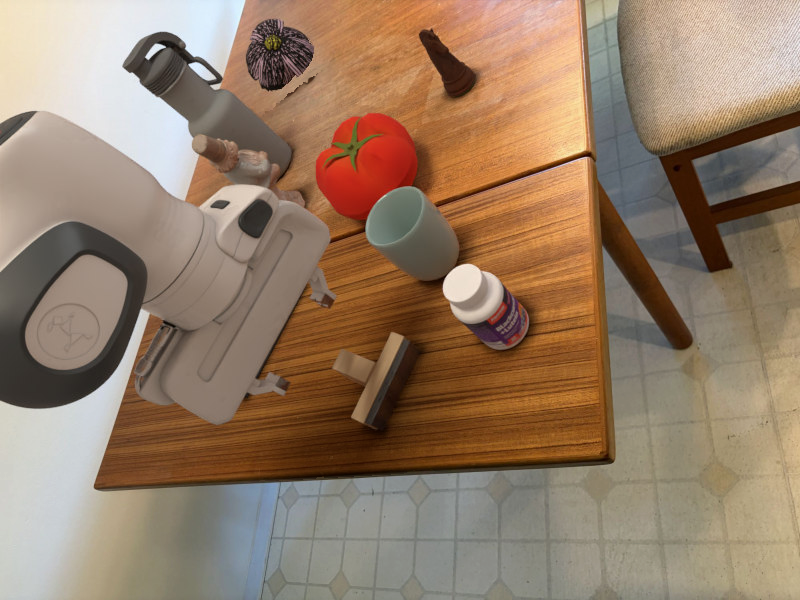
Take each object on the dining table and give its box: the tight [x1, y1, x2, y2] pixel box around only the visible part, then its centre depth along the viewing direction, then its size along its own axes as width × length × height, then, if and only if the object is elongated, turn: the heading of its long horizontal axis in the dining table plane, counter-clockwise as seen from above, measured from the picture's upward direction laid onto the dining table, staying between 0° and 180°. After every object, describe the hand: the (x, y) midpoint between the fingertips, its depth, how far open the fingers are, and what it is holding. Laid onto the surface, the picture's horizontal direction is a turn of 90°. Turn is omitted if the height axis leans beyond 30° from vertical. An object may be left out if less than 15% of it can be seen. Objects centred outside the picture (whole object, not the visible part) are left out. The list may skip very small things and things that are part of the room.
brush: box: [331, 331, 421, 432], centre depth 61 cm, size 10×5×7 cm
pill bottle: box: [442, 263, 530, 351], centre depth 54 cm, size 5×5×10 cm
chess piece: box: [418, 27, 476, 98], centre depth 77 cm, size 5×5×10 cm
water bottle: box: [121, 31, 292, 181], centre depth 91 cm, size 10×10×28 cm
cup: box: [365, 186, 460, 282], centre depth 63 cm, size 8×8×10 cm
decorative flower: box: [245, 18, 315, 92], centre depth 109 cm, size 14×12×15 cm
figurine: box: [191, 134, 306, 208], centre depth 83 cm, size 9×8×20 cm
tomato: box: [315, 112, 419, 221], centre depth 76 cm, size 14×16×10 cm
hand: (307, 343), depth 54 cm, fingers open, 8 cm apart
